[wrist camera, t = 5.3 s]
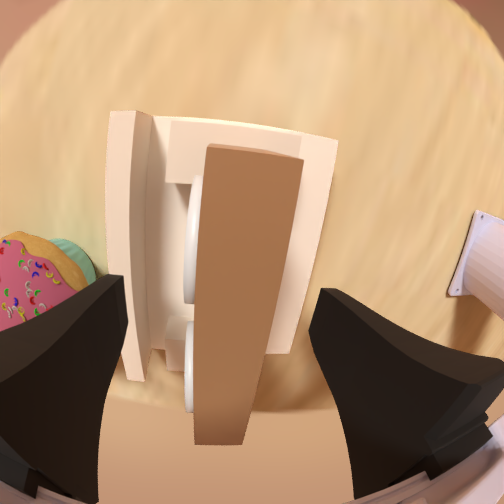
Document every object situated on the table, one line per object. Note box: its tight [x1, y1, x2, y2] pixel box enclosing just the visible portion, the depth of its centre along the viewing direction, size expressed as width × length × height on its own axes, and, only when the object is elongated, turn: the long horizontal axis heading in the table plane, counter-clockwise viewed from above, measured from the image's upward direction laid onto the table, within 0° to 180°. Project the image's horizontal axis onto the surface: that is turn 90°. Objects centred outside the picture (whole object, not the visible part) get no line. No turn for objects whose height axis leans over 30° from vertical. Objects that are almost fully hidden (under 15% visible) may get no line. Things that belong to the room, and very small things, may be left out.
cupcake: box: [0, 231, 96, 331], centre depth 9 cm, size 9×8×12 cm
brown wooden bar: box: [183, 143, 304, 445], centre depth 10 cm, size 2×11×5 cm, turn 172°
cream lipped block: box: [105, 110, 338, 382], centre depth 13 cm, size 10×13×5 cm
